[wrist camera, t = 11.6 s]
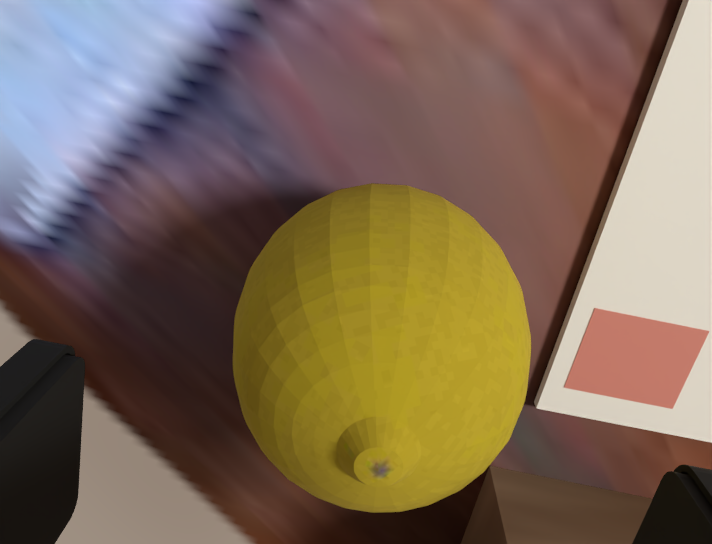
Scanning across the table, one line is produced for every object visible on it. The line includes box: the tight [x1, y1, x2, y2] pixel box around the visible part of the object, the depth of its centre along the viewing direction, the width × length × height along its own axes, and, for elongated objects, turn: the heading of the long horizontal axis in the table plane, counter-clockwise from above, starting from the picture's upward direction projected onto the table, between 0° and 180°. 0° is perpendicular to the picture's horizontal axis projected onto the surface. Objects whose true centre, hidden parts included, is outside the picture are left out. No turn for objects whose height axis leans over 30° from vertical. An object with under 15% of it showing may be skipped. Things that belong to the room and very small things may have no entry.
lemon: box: [233, 183, 531, 513], centre depth 12 cm, size 6×6×8 cm
